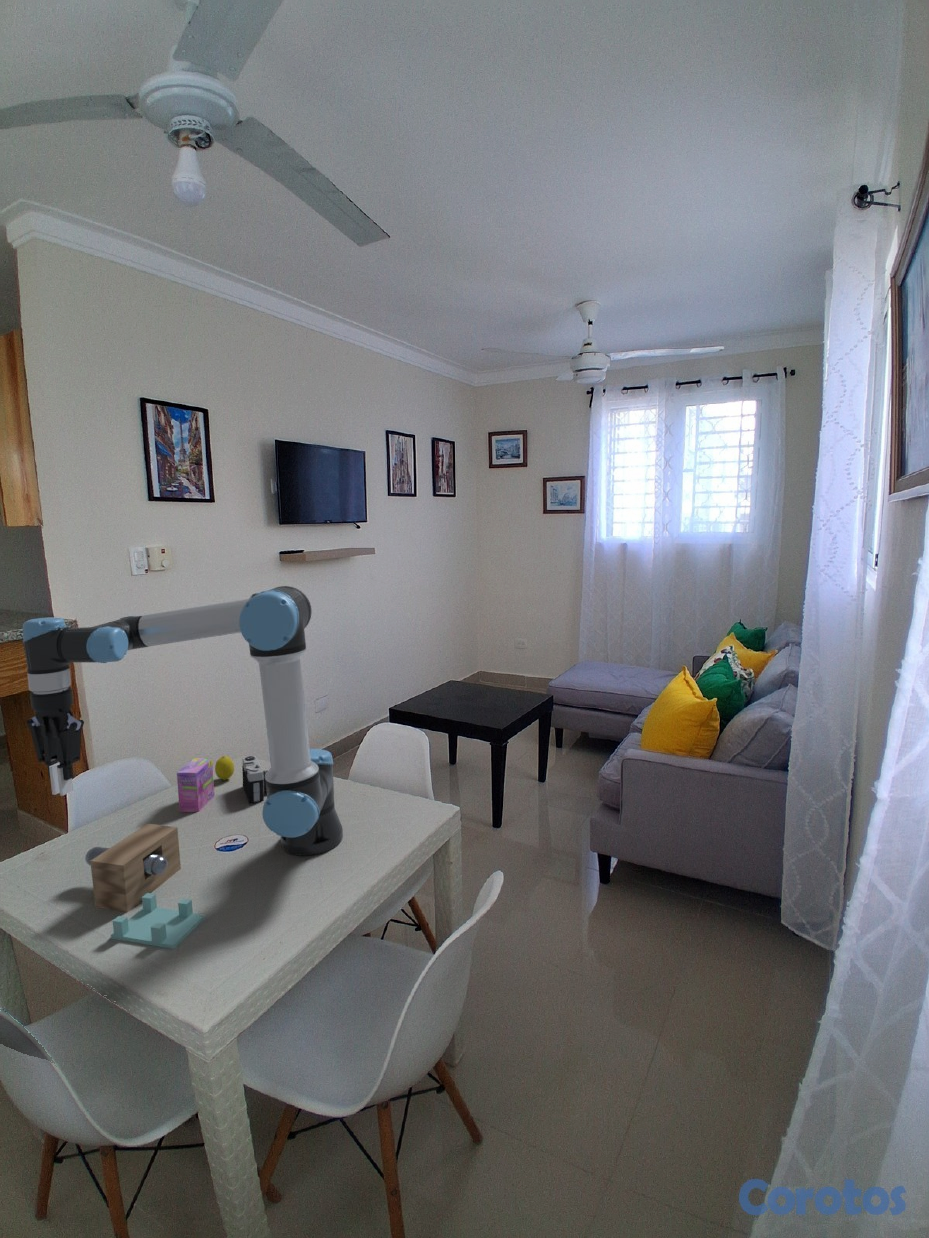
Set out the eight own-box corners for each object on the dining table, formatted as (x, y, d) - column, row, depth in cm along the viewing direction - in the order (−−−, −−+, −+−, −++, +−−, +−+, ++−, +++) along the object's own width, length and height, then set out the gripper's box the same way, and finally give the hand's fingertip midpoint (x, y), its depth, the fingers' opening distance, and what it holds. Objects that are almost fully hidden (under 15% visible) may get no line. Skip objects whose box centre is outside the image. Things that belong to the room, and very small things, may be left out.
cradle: (205, 919, 120) (203, 901, 120) (174, 950, 112) (172, 930, 111) (145, 910, 123) (144, 892, 123) (111, 939, 115) (109, 920, 114)
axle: (172, 869, 131) (171, 852, 130) (159, 879, 127) (158, 862, 126) (96, 858, 135) (94, 842, 135) (81, 868, 132) (79, 851, 131)
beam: (180, 869, 138) (177, 827, 136) (127, 912, 123) (123, 865, 121) (151, 865, 140) (147, 823, 138) (95, 907, 124) (90, 860, 123)
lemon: (223, 785, 183) (221, 760, 182) (212, 781, 186) (210, 757, 185) (238, 779, 188) (237, 754, 186) (227, 775, 190) (225, 751, 189)
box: (199, 812, 166) (196, 772, 164) (179, 812, 166) (175, 772, 164) (215, 795, 176) (212, 757, 174) (196, 795, 176) (193, 757, 174)
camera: (276, 801, 172) (274, 768, 171) (242, 806, 169) (240, 773, 168) (274, 782, 185) (272, 751, 184) (242, 786, 182) (240, 755, 181)
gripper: (93, 686, 130) (103, 788, 134) (39, 683, 134) (51, 782, 137) (63, 696, 123) (75, 803, 127) (7, 692, 126) (20, 796, 130)
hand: (62, 792), depth 132 cm, fingers closed
